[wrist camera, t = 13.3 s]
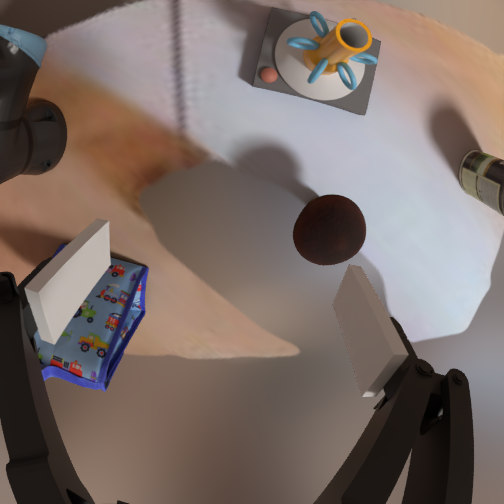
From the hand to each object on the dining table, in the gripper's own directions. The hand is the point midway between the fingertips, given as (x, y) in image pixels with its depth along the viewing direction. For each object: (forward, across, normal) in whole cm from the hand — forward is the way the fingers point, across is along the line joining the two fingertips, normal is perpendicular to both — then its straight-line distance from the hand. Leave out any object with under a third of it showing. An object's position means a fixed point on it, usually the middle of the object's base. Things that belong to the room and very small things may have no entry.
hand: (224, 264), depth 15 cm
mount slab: (+35, +8, +19) cm, 40 cm away
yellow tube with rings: (+31, +8, +19) cm, 37 cm away
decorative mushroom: (+35, +14, -6) cm, 38 cm away
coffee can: (+35, +47, +11) cm, 60 cm away
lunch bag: (+35, -26, -30) cm, 53 cm away
